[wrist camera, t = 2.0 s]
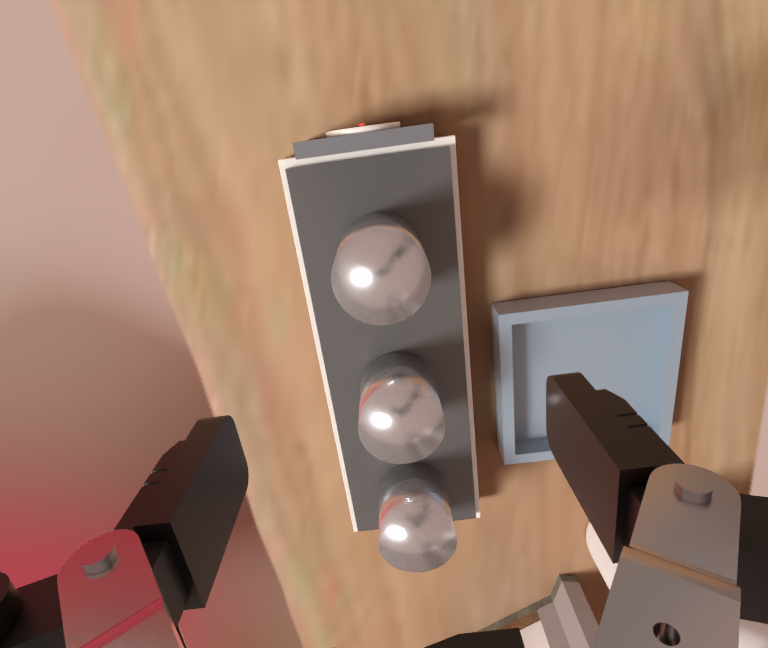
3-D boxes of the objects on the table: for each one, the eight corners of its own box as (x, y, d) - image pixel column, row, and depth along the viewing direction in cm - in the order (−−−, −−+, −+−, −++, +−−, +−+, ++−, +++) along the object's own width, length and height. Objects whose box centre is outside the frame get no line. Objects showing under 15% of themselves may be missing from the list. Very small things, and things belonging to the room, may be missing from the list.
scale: (279, 135, 28) (260, 137, 23) (448, 112, 27) (463, 108, 23) (355, 512, 39) (352, 564, 34) (475, 498, 39) (489, 548, 34)
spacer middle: (355, 356, 31) (351, 396, 26) (431, 346, 30) (441, 385, 26) (366, 420, 32) (365, 468, 28) (438, 411, 32) (448, 458, 28)
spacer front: (331, 218, 27) (322, 236, 23) (417, 206, 27) (426, 222, 22) (345, 298, 29) (339, 331, 24) (425, 288, 29) (435, 318, 24)
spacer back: (374, 466, 34) (374, 519, 29) (442, 458, 34) (453, 510, 29) (383, 518, 36) (384, 576, 31) (448, 511, 36) (459, 567, 31)
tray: (491, 303, 32) (498, 315, 30) (668, 280, 32) (688, 291, 30) (497, 446, 37) (504, 465, 35) (652, 428, 36) (669, 446, 34)
